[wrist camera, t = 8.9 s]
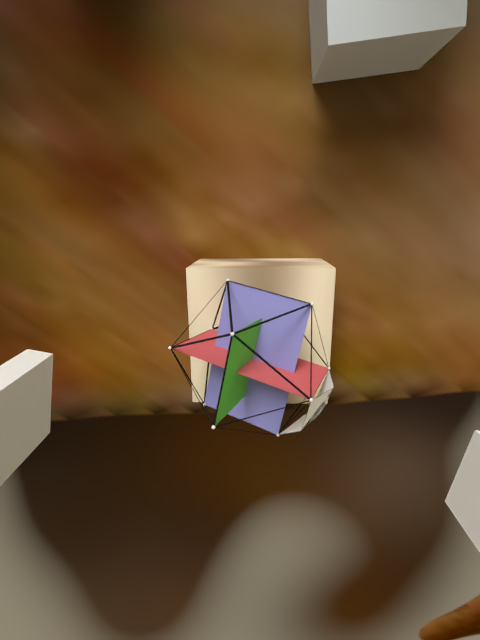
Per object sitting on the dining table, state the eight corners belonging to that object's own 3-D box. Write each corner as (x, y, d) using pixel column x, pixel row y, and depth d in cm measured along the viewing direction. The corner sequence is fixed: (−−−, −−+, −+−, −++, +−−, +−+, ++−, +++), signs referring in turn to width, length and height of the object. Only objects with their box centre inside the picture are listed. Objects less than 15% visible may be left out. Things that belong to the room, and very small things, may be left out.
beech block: (204, 368, 26) (192, 401, 22) (200, 258, 24) (186, 268, 20) (314, 369, 26) (327, 403, 21) (320, 257, 24) (335, 268, 19)
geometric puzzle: (142, 390, 19) (220, 498, 13) (159, 263, 17) (259, 320, 11) (249, 376, 23) (345, 453, 17) (272, 273, 21) (389, 318, 15)
